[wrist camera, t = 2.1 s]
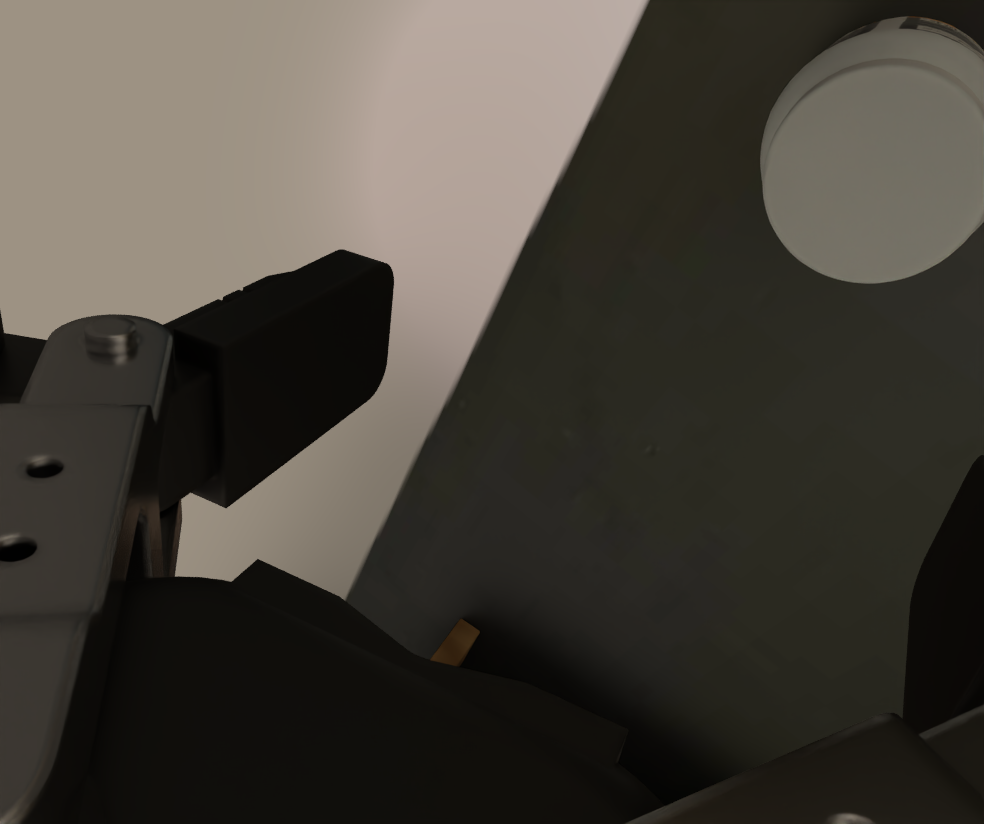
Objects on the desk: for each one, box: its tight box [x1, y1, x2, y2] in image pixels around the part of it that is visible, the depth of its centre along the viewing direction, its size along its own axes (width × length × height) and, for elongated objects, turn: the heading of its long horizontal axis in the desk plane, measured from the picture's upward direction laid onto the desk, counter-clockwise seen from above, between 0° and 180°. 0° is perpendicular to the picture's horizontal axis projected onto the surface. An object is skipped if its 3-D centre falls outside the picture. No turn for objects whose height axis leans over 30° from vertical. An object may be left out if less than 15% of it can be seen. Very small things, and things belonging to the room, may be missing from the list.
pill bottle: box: [760, 16, 984, 283], centre depth 23 cm, size 6×6×10 cm
